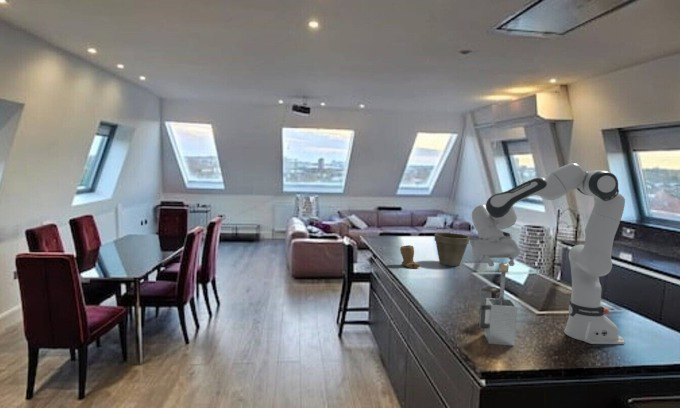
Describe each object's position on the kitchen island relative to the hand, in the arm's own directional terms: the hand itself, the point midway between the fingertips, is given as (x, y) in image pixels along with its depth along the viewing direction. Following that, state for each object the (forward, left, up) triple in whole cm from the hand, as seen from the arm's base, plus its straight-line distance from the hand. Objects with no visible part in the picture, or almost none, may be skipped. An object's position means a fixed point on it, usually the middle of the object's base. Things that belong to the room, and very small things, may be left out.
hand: (502, 265), depth 179 cm
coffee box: (0, -19, -31) cm, 37 cm away
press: (+1, +1, -31) cm, 31 cm away
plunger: (0, +1, -22) cm, 22 cm away
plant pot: (+3, -142, -31) cm, 145 cm away
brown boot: (+34, -125, -31) cm, 133 cm away
